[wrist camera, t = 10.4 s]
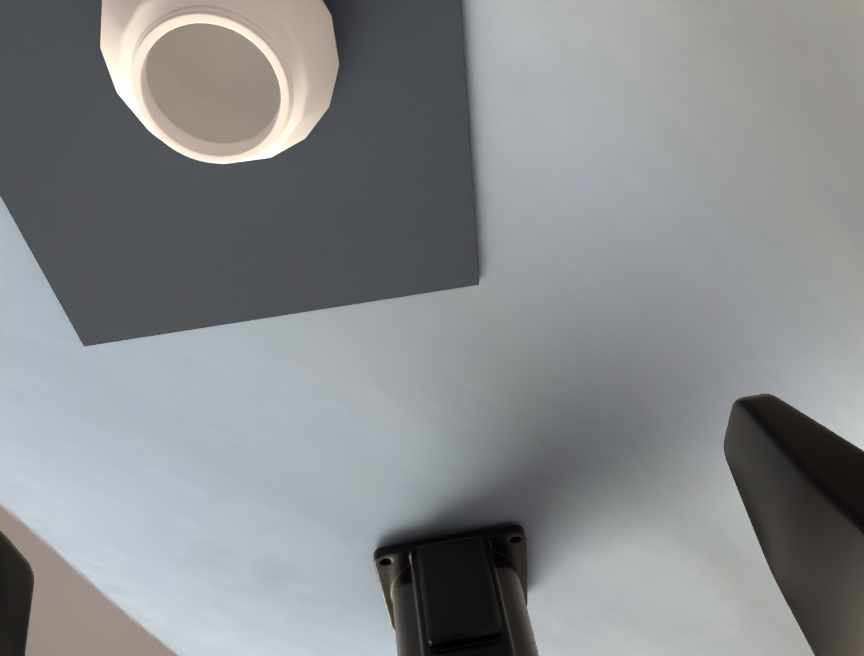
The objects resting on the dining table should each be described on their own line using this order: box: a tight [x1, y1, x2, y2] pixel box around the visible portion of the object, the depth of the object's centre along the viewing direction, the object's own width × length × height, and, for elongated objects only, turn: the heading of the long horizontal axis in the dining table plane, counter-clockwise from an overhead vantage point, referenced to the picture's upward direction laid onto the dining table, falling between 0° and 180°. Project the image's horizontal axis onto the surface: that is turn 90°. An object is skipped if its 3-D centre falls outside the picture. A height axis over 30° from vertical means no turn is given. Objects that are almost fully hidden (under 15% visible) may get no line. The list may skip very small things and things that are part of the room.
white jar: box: [100, 0, 339, 164], centre depth 15 cm, size 5×3×5 cm
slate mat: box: [0, 0, 479, 346], centre depth 16 cm, size 16×12×1 cm
